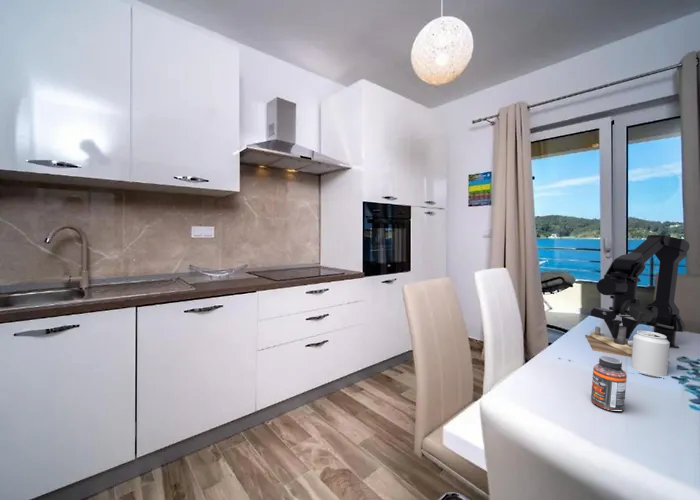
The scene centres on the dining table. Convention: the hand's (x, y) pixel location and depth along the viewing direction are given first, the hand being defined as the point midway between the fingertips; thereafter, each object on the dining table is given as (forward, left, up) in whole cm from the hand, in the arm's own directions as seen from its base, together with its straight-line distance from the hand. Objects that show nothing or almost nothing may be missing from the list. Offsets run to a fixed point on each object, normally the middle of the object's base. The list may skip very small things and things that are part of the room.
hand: (620, 338), depth 105 cm
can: (+18, +3, -5) cm, 19 cm away
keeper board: (-2, +1, -5) cm, 5 cm away
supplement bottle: (+47, -11, -5) cm, 49 cm away
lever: (-3, -2, -3) cm, 4 cm away
